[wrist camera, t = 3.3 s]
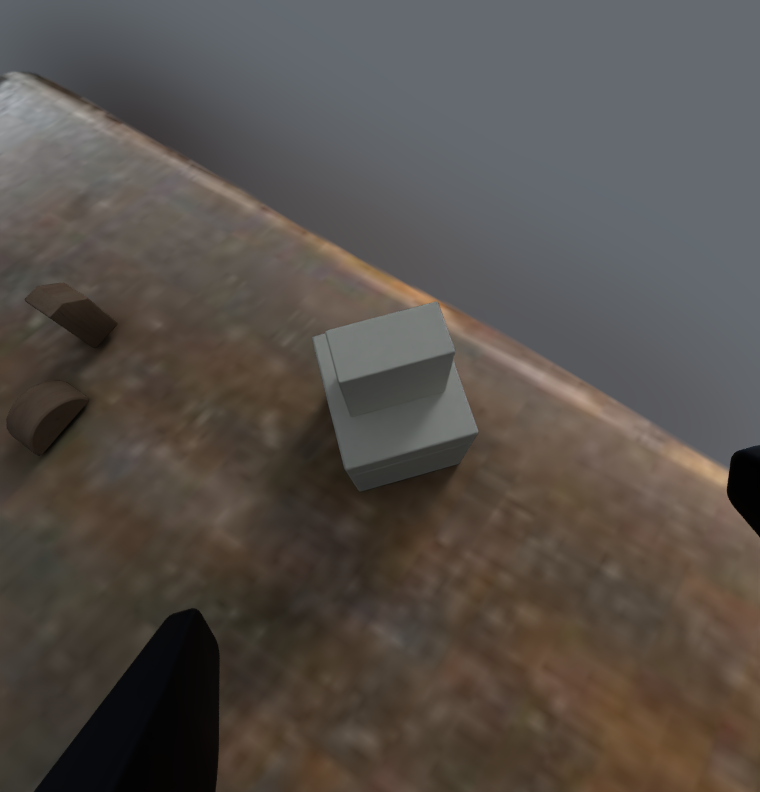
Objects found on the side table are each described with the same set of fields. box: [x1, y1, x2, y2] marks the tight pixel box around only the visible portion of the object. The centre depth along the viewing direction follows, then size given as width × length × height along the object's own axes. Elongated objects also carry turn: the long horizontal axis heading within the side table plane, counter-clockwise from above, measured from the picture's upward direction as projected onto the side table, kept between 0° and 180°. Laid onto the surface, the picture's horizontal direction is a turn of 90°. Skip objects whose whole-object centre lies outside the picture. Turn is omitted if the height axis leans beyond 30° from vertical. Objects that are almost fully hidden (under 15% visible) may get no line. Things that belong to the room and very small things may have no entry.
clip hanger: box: [312, 302, 478, 492], centre depth 17 cm, size 5×4×8 cm
